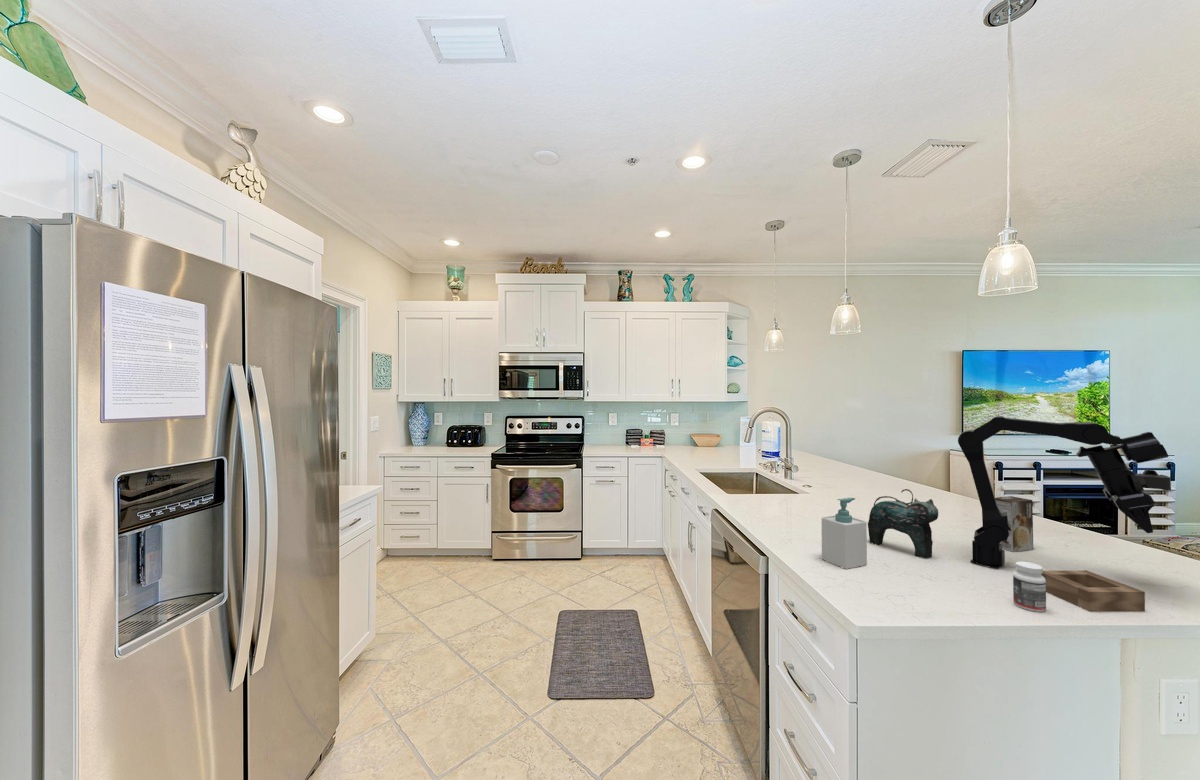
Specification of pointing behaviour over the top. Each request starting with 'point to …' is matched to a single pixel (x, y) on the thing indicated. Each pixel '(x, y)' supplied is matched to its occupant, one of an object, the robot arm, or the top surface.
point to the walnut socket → (1093, 591)
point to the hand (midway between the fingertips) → (1145, 528)
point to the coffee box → (1017, 523)
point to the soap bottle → (844, 538)
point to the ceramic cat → (904, 522)
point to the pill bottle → (1029, 587)
